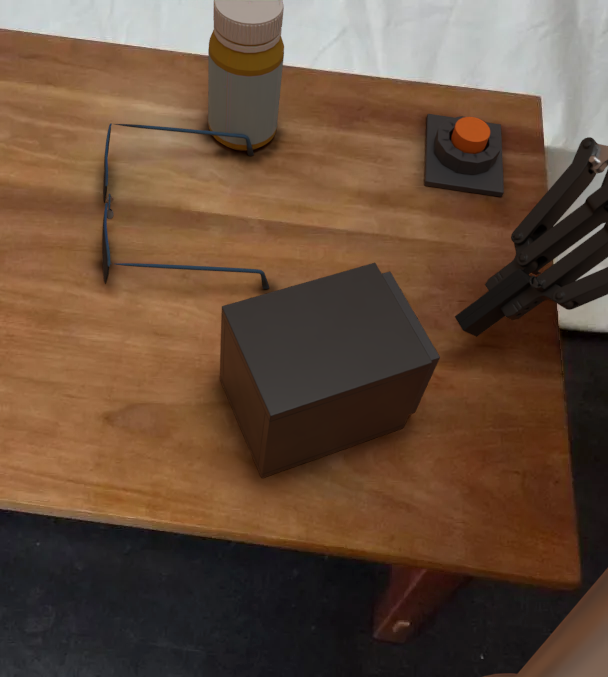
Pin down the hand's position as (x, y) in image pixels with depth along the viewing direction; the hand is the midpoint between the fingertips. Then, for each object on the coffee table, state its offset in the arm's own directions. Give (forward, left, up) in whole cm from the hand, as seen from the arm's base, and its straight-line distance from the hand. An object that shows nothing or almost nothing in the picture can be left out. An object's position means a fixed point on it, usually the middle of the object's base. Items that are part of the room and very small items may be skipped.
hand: (466, 326), depth 68 cm
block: (+21, +13, -5) cm, 25 cm away
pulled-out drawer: (-10, +5, -4) cm, 12 cm away
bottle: (+8, +32, -5) cm, 33 cm away
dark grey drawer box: (-12, +6, -5) cm, 14 cm away
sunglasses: (-5, +28, -5) cm, 28 cm away
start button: (+21, +13, -3) cm, 25 cm away
